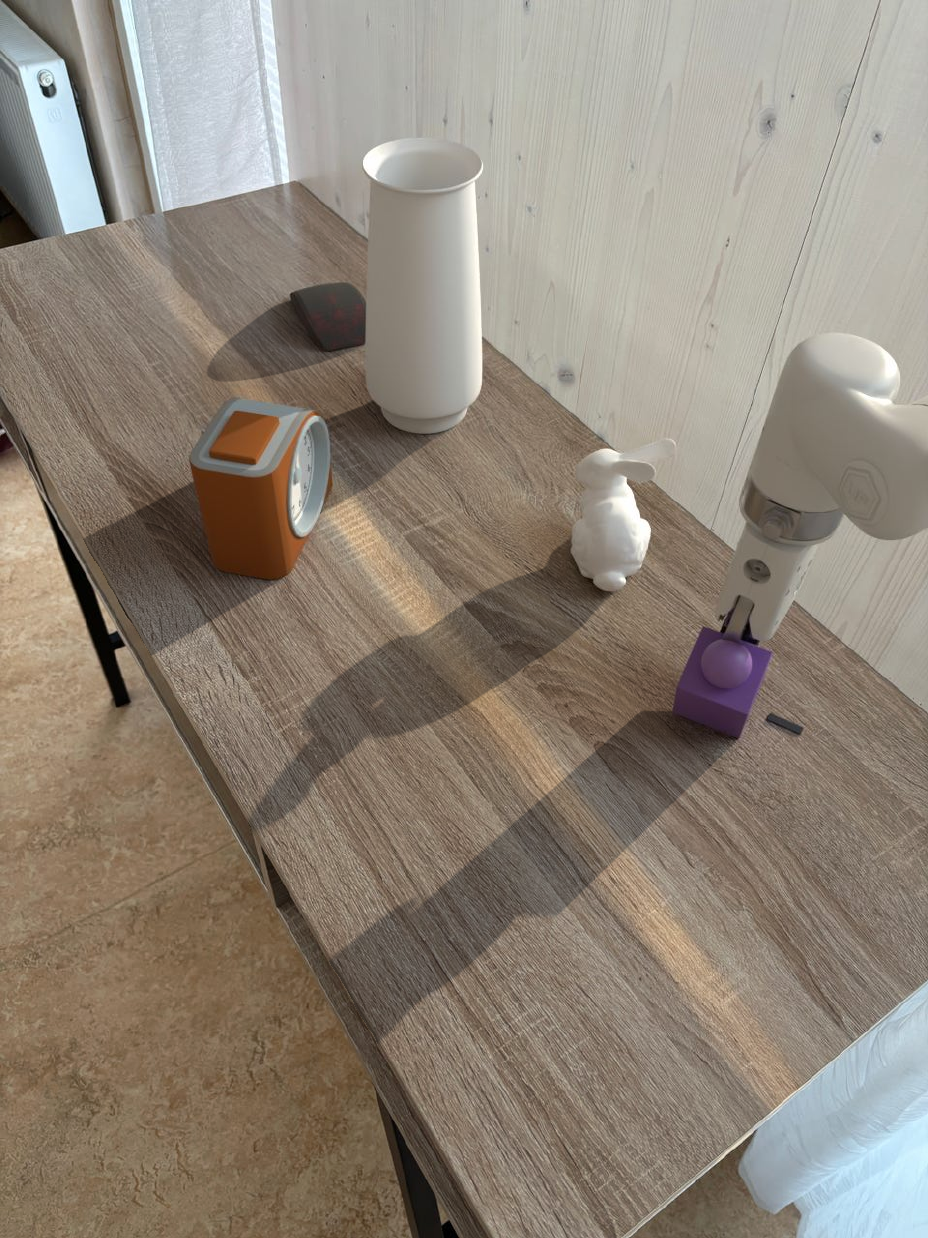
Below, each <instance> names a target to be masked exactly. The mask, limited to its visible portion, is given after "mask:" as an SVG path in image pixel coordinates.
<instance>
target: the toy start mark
mask: <svg viewBox="0 0 928 1238" xmlns="http://www.w3.org/2000/svg"><path fill="white" fill-rule="evenodd" d="M766 720H767V721H768V722H771V723H774V724H776V725H777V726H779V727H783V728H785V729H787V730H789V731H791V732H793V733H796V734H798V735H802V733H803V731H804V729H805V727H803V726H801V725H799V724H797V723H794V722H793V721H789V720H788V719H785V718H784V717H781V716H779V715H776V714H775V713H772V712H770V713H769V715H768V716H767V719H766Z"/></svg>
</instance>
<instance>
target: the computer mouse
mask: <svg viewBox="0 0 928 1238" xmlns="http://www.w3.org/2000/svg"><path fill="white" fill-rule="evenodd" d="M289 297H290V300H291V302H292V304H293V306H294V308H295V310H296V312H297V315H298V316H299V318H300V321H301V322H302V324H303V325H304V327H305V328H306V330H307V332H308V334H309V336H310V337H311V339H312V340H313V342H315V343H316V344H317V345H318V346H319V347H320V348H321V349H323V350H325V351H326V352H334V351H338V350H342V349H346V348H347V349H348V348H351V347H357V346H361V345H365V340H366V298H365V297H364V295H363V294H362V293H361V291H360V290H359V289H358V288H357V287H356V286H355V285H354V284H352V283H350V282H345V281H339V282H330V283H322V284H316V285H312V286H308V287H304V288H301V289H297V290H294V291H291V292H290V293H289Z"/></svg>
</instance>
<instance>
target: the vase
mask: <svg viewBox="0 0 928 1238" xmlns="http://www.w3.org/2000/svg"><path fill="white" fill-rule="evenodd" d="M361 168H362V171H363V173H364V175H365V176H366V177H367V178H368V179H369V180H370V185H369V186H370V187H369V210H368V233H367V234H368V235H367V264H366V291H365V292H366V296H365V301H366V340H365V344H364V345H365V347H364V351H365V355H364V356H365V357H364V360H365V361H364V362H365V363H364V364H365V369H364V371H365V386H366V390H367V392H368V394H369V397H370V398H371V399H372V400H373V402H374V403H375V404H376V405H378V406H379V407H380V410H381V413H382V415H383V417H384V418H385V420H386V421H387V422H388V423H389V424H390V425H391V426H393V427H395V428H397V429H398V430H401V431H404V432H408V433H412V434H419V435H420V434H421V435H429V434H436V433H442V432H445V431H448V430H451V429H452V428H454V427H456V426H457V425H458V424H460V423H461V422H462V420H463V419H464V418H465V416H466V414H467V411H468V408H469V407H470V406H471V405H472V404H474V402H475V401H476V400H477V399H478V397H479V395H480V393H481V390H482V386H483V385H482V384H483V333H482V331H483V329H482V328H483V327H482V303H481V302H482V301H481V299H482V298H481V279H480V278H481V275H480V256H479V254H480V253H479V234H478V233H479V232H478V216H477V197H476V195H477V194H476V181H477V180H478V178H479V177H480V176H481V175H482V173H483V170H484V163H483V160H482V158H481V157H480V155H479V154H478V153H476V151H474V150H473V149H471V148H469V147H468V146H466V145H464V144H461V143H460V142H459V143H458V142H455V141H452V140H448V139H444V138H443V139H442V138H437V137H436V138H434V137H407V138H399V139H396V140H391V141H388V142H384V143H381V144H379V145H377V146H375V147H373V148H372V149H371V150H369V151H368V152H367V153H366V154H365V156H364V157H363V159H362V163H361Z"/></svg>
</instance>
